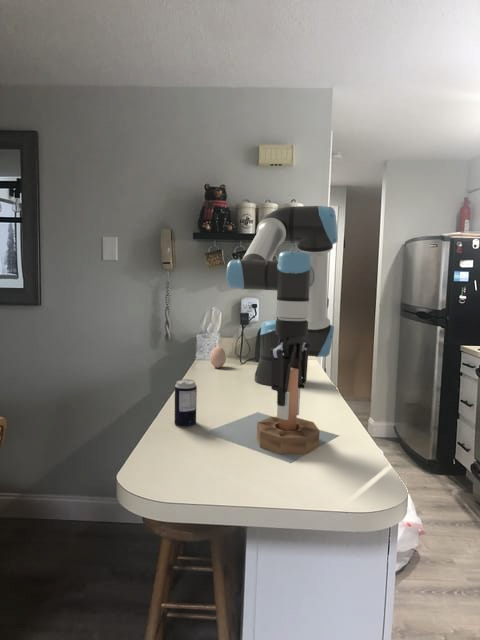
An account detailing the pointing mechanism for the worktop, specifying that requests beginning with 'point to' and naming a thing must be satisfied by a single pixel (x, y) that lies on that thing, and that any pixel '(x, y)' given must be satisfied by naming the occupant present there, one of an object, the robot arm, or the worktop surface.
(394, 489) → the worktop surface
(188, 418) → the beverage can
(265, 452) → the mat
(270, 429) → the bead
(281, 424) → the tan round-topped peg
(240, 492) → the worktop surface
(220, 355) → the egg
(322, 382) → the worktop surface
